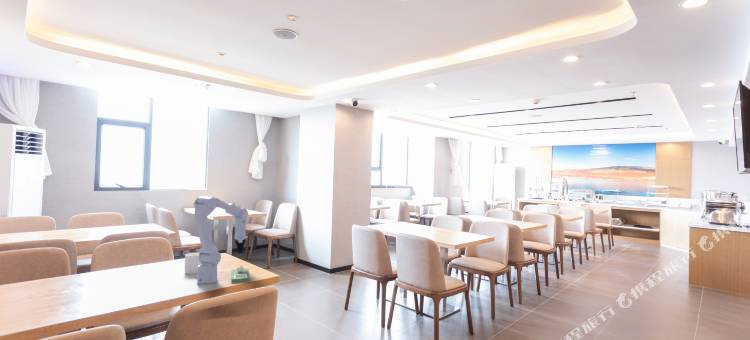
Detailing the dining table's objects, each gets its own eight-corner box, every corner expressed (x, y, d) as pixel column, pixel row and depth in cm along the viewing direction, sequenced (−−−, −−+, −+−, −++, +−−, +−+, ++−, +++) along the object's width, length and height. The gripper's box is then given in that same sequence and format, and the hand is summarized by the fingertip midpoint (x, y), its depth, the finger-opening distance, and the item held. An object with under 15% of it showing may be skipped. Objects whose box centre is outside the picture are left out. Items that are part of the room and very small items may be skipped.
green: (231, 283, 190) (231, 279, 190) (231, 273, 207) (231, 269, 207) (249, 281, 194) (249, 277, 194) (248, 272, 211) (248, 268, 211)
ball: (236, 273, 201) (236, 266, 201) (236, 271, 204) (236, 265, 204) (243, 272, 202) (243, 266, 202) (243, 271, 206) (243, 264, 206)
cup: (187, 275, 202) (187, 256, 202) (181, 270, 211) (181, 252, 211) (203, 272, 208) (203, 254, 208) (196, 268, 217) (196, 250, 217)
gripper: (248, 230, 207) (247, 255, 207) (247, 226, 220) (246, 249, 220) (234, 231, 204) (234, 256, 204) (234, 227, 218) (234, 250, 218)
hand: (239, 252), depth 212 cm, fingers closed
